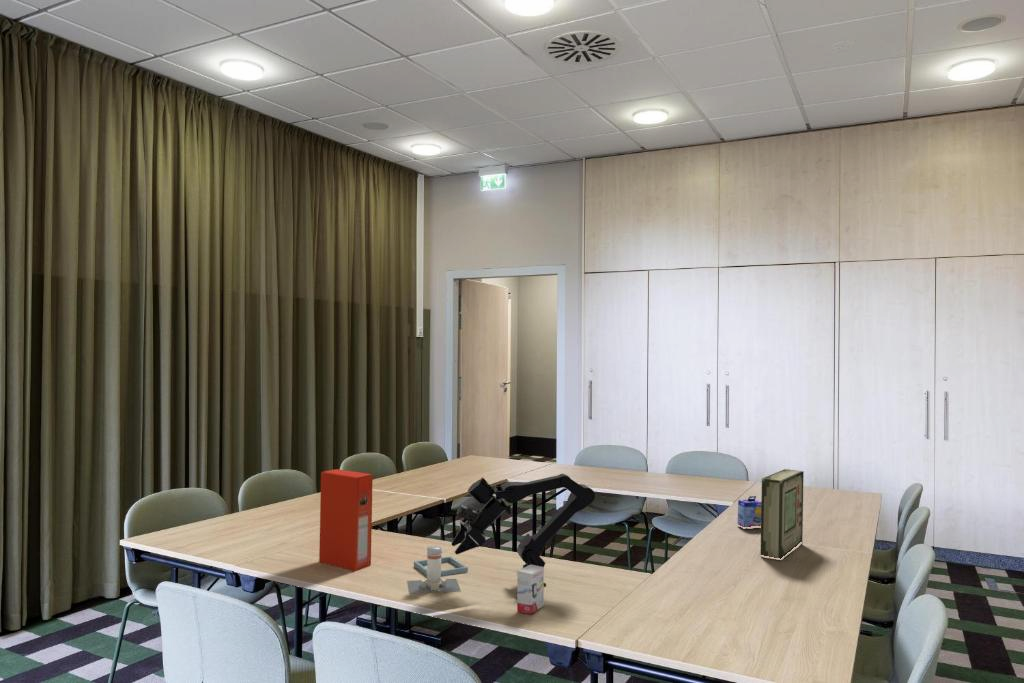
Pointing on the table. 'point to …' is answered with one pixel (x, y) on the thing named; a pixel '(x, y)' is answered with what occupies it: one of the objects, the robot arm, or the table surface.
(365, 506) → the file binder
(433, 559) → the white cylinder
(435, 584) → the board
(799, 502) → the control panel
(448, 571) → the tray
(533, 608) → the ink box
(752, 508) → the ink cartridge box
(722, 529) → the table surface
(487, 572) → the table surface
